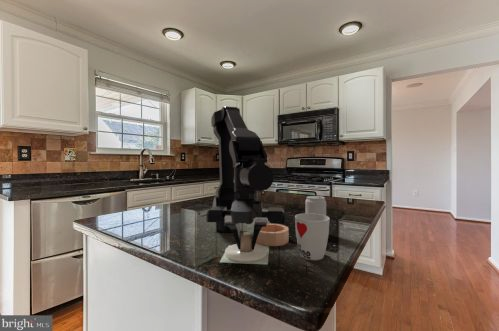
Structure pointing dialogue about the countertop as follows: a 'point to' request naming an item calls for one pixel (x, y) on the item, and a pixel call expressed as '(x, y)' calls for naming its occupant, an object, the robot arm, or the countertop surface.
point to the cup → (312, 235)
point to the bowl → (273, 235)
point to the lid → (246, 250)
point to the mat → (262, 261)
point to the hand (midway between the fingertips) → (246, 249)
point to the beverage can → (315, 205)
